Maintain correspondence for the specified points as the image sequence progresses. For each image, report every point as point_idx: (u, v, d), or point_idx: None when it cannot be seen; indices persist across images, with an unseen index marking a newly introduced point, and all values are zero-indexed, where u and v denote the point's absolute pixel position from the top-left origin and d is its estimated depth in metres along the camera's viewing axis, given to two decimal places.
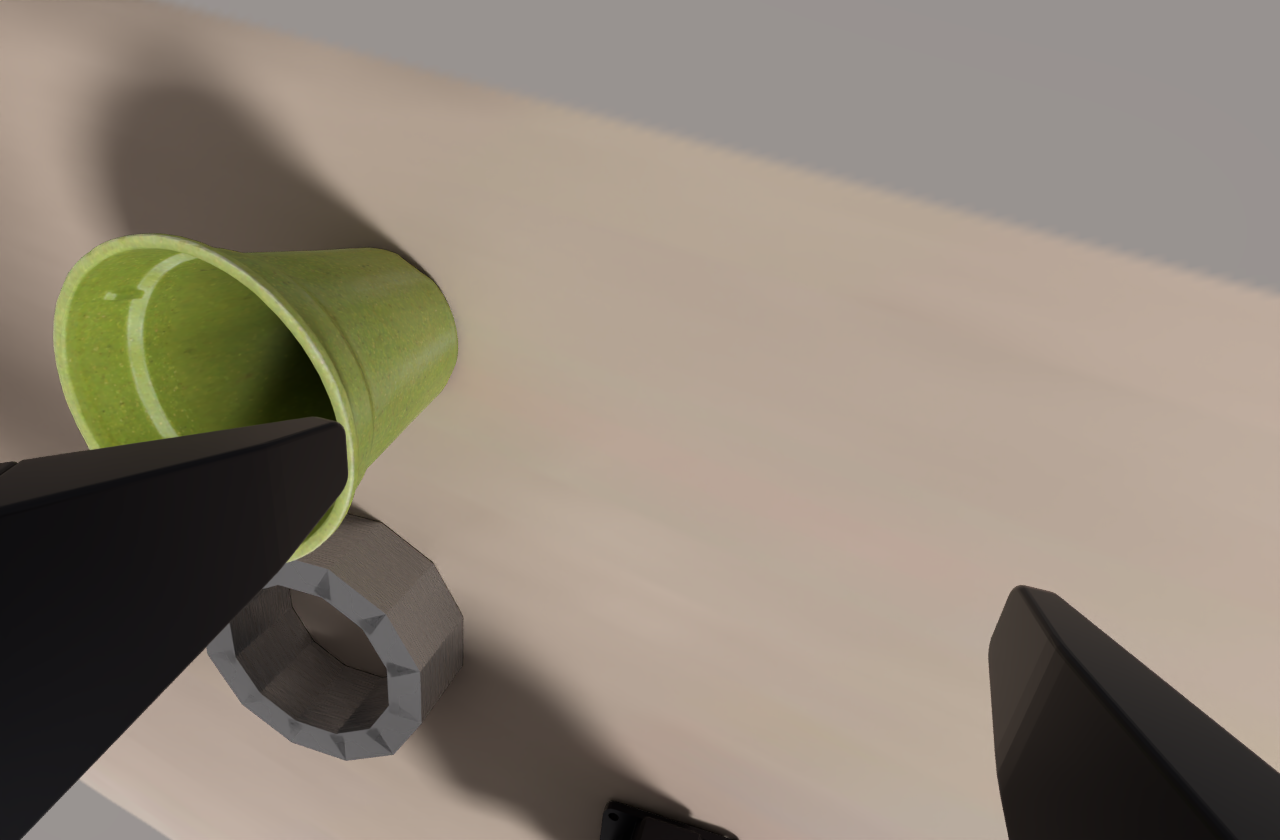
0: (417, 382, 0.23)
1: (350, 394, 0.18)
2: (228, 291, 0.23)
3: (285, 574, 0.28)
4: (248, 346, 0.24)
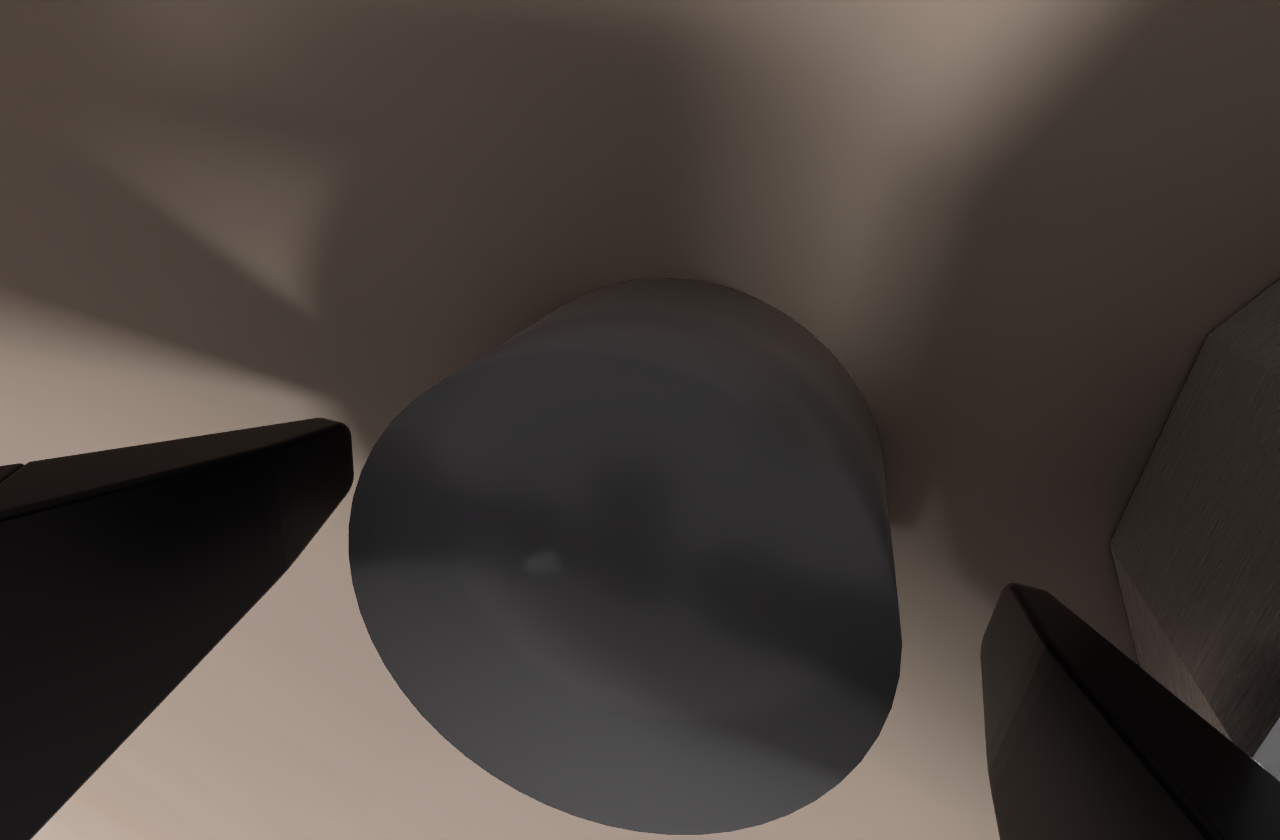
0: None
1: None
2: None
3: None
4: None
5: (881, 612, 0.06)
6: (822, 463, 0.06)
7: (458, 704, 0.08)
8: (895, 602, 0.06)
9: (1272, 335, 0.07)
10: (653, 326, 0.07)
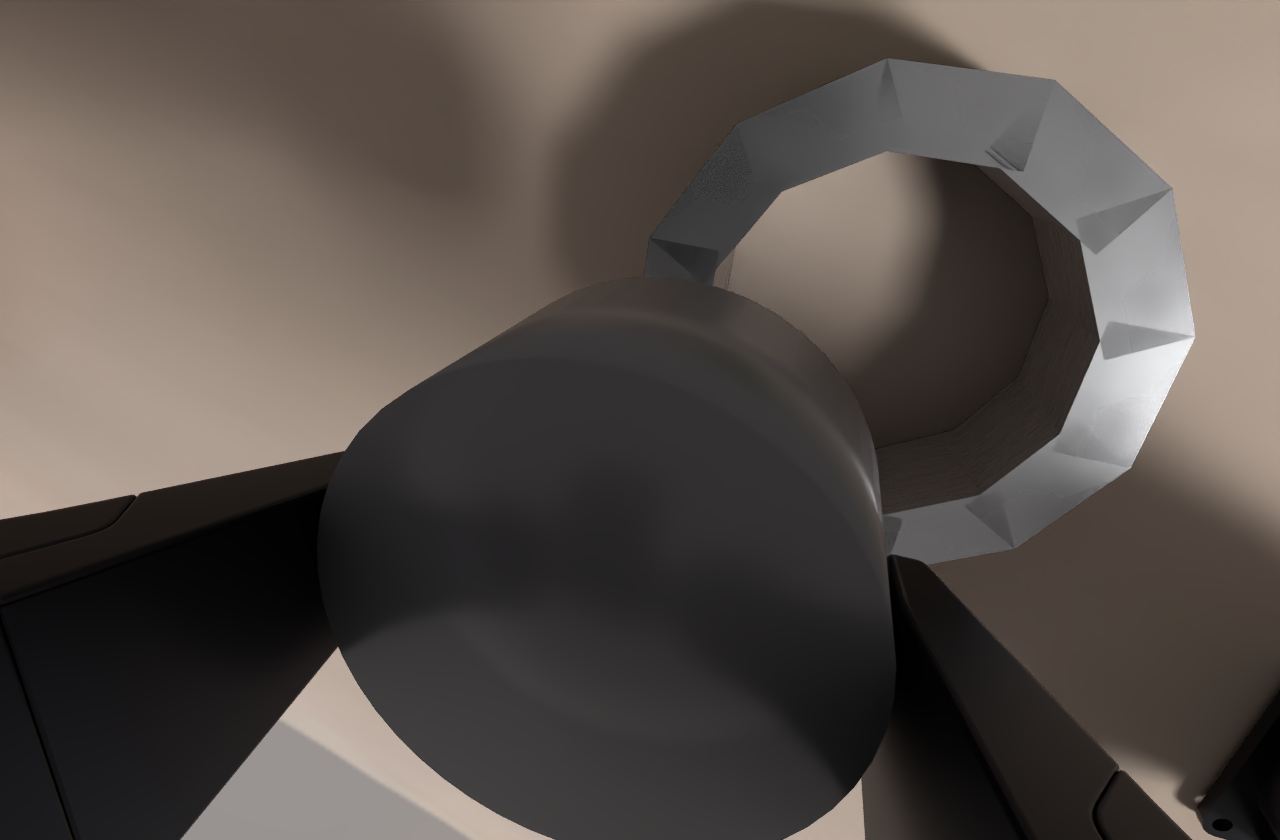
0: None
1: None
2: None
3: (919, 116, 0.13)
4: None
5: (874, 633, 0.06)
6: (809, 476, 0.06)
7: (434, 725, 0.08)
8: (889, 622, 0.06)
9: None
10: (634, 330, 0.07)
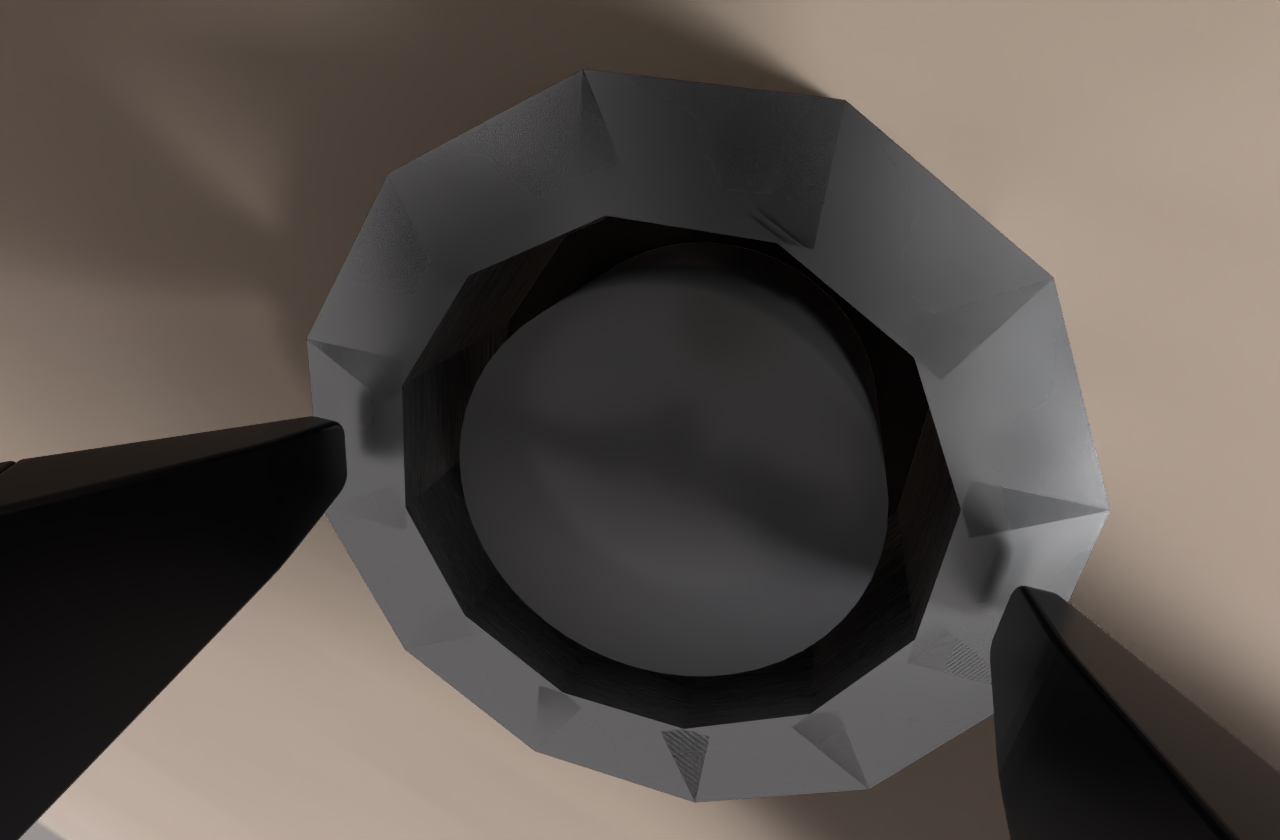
0: None
1: None
2: None
3: (645, 162, 0.08)
4: None
5: (873, 478, 0.09)
6: (829, 364, 0.08)
7: (541, 576, 0.11)
8: (883, 470, 0.09)
9: None
10: (700, 271, 0.09)
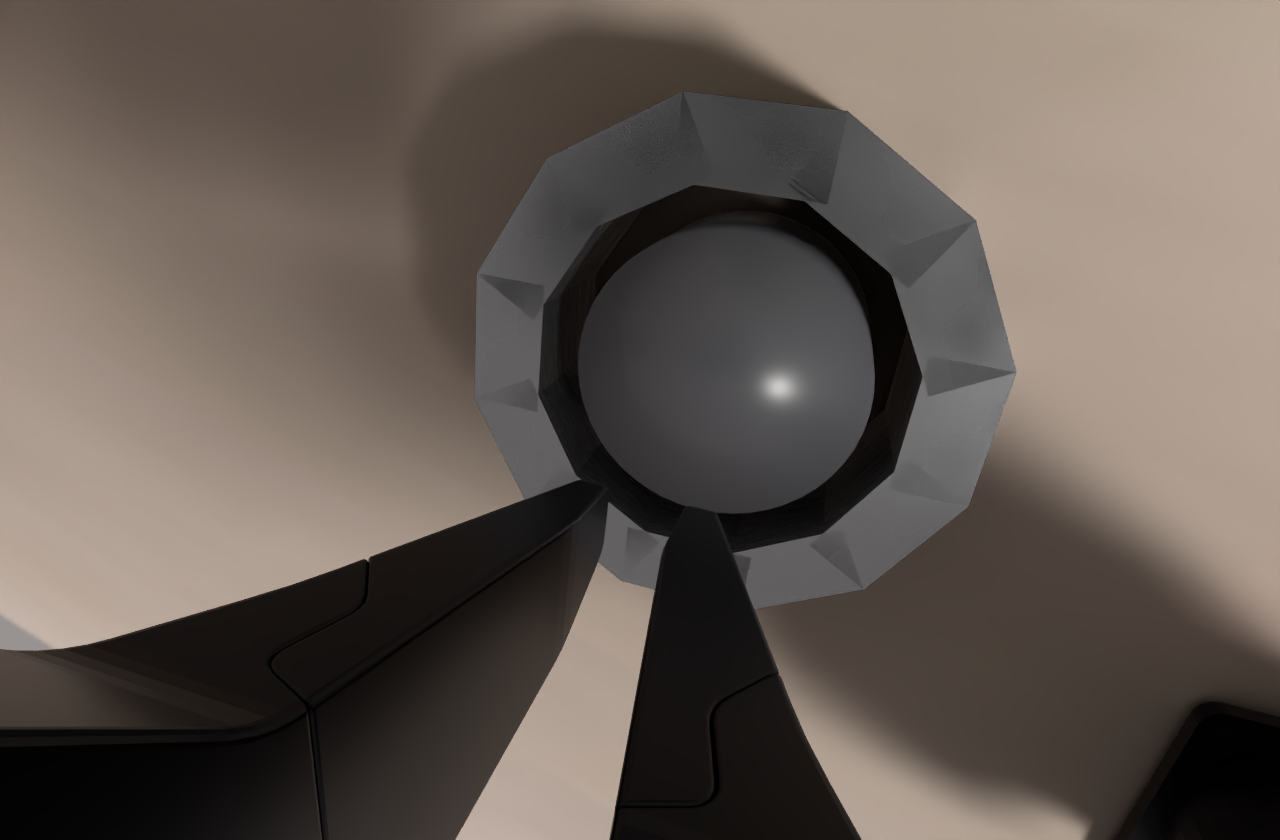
0: None
1: None
2: None
3: (720, 150, 0.12)
4: None
5: (864, 359, 0.13)
6: (836, 281, 0.13)
7: (632, 442, 0.15)
8: (871, 353, 0.13)
9: None
10: (749, 224, 0.14)
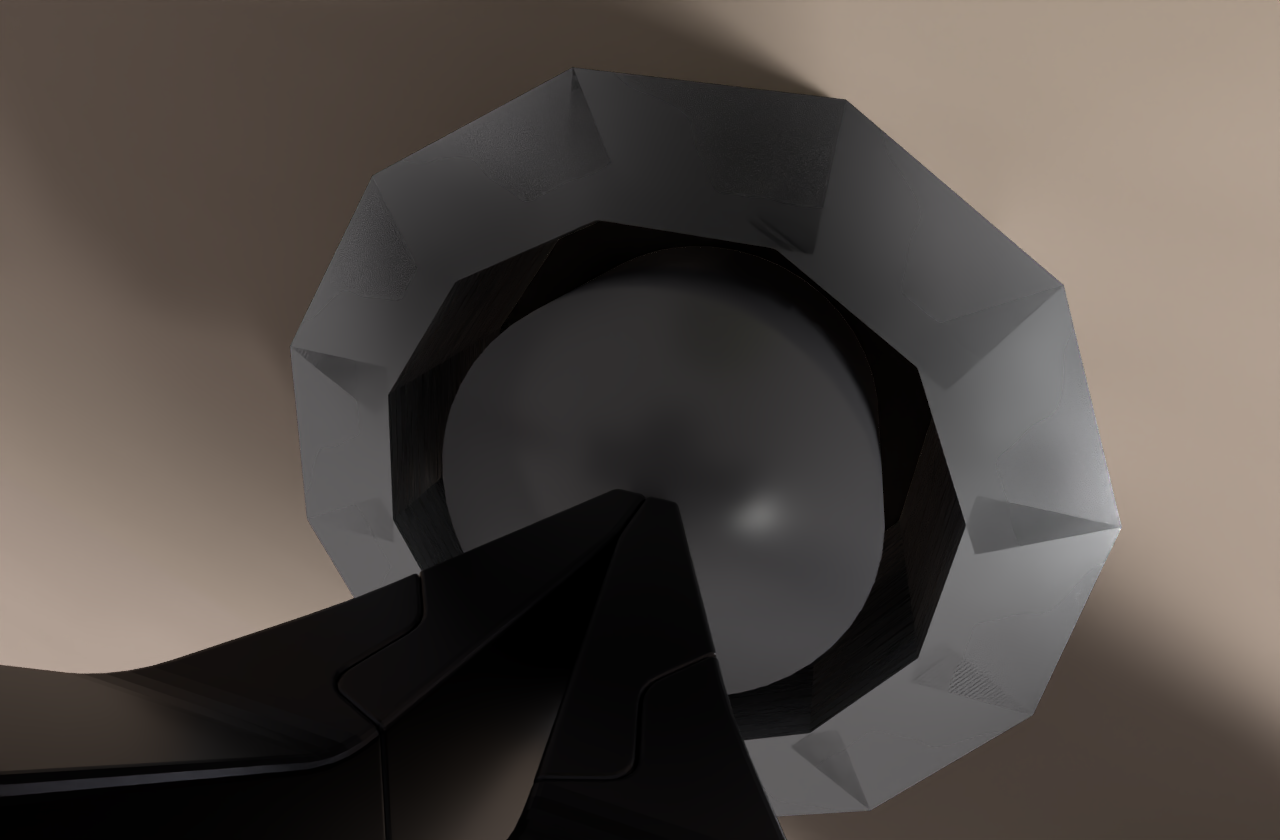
0: None
1: None
2: None
3: (638, 165, 0.08)
4: None
5: (869, 501, 0.08)
6: (828, 380, 0.08)
7: None
8: (880, 493, 0.08)
9: None
10: (700, 277, 0.09)
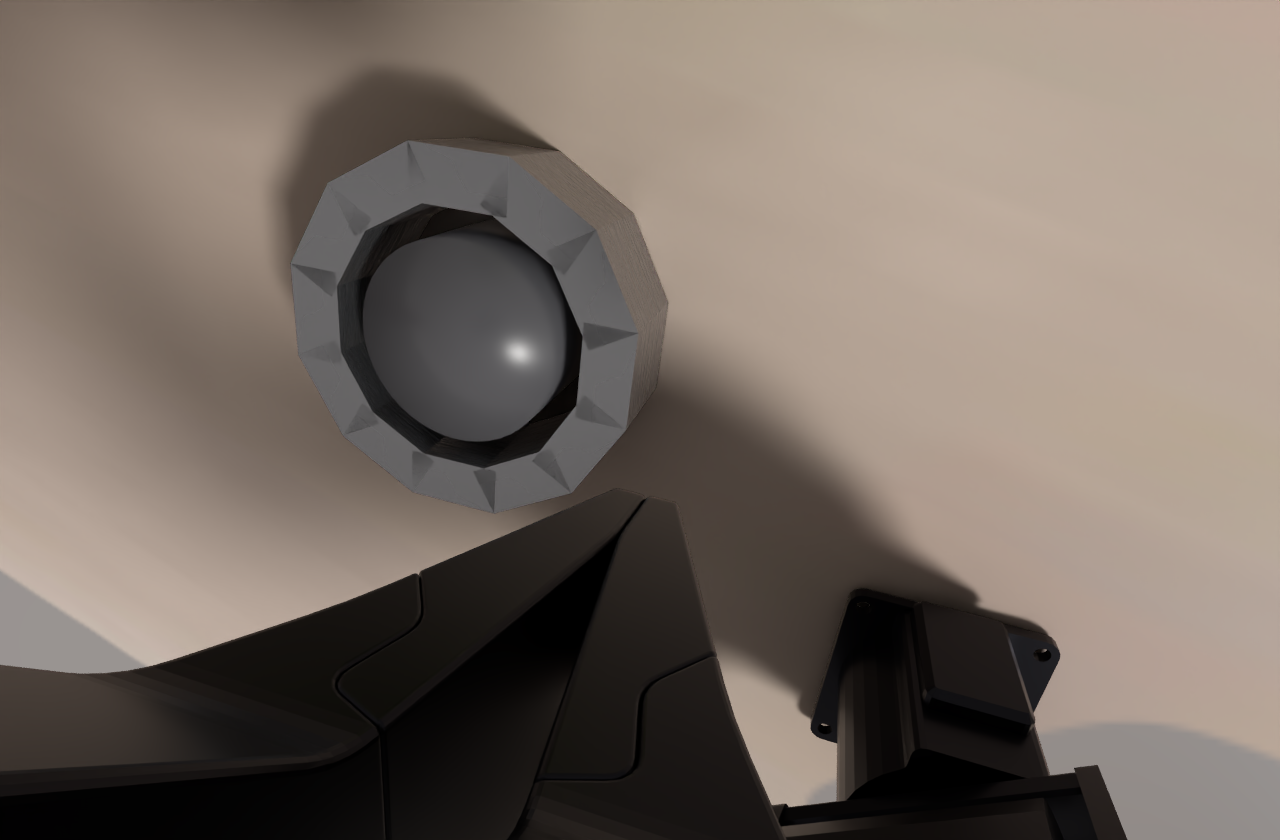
0: None
1: None
2: None
3: (436, 180, 0.18)
4: None
5: (544, 341, 0.19)
6: (524, 285, 0.19)
7: (400, 382, 0.21)
8: (549, 337, 0.19)
9: None
10: (484, 235, 0.20)
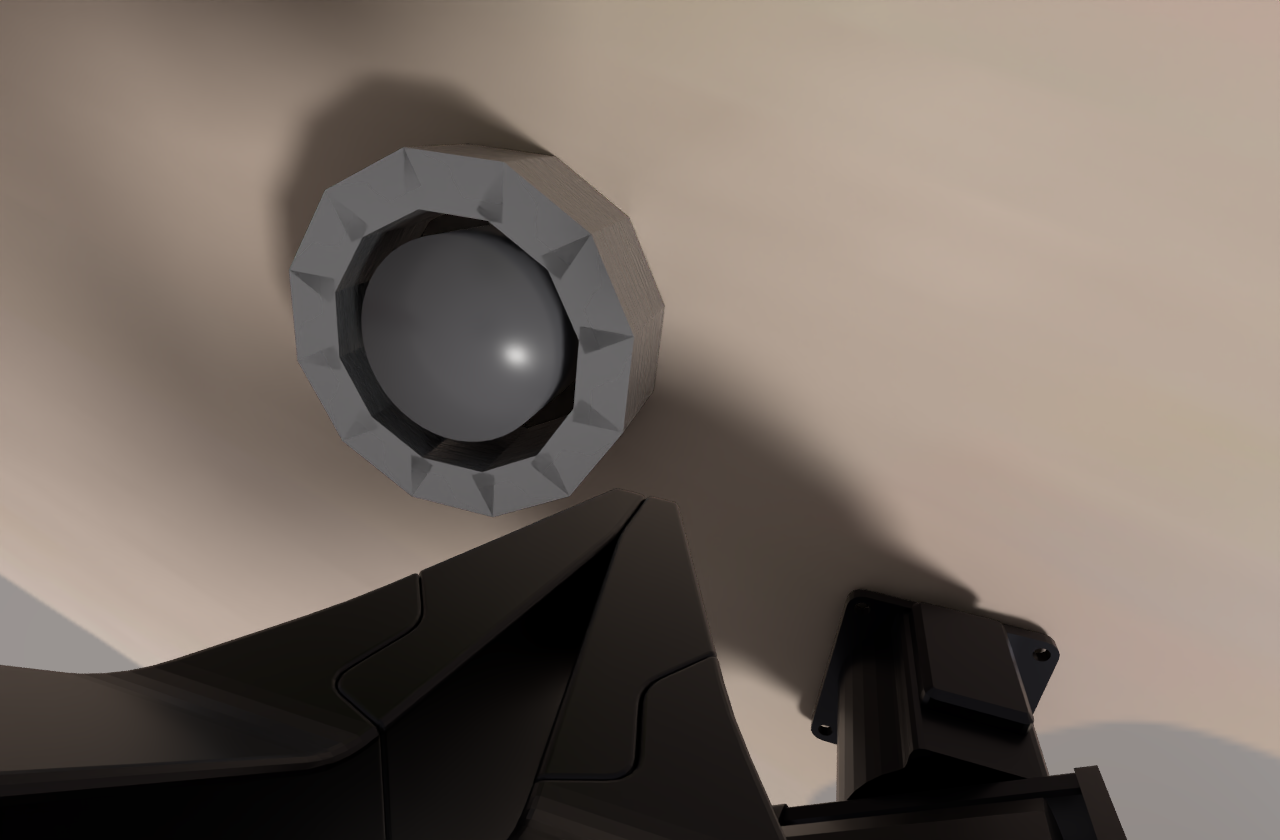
0: None
1: None
2: None
3: (432, 186, 0.18)
4: None
5: (547, 345, 0.19)
6: (532, 288, 0.19)
7: (393, 375, 0.21)
8: (551, 342, 0.19)
9: None
10: (494, 237, 0.20)
